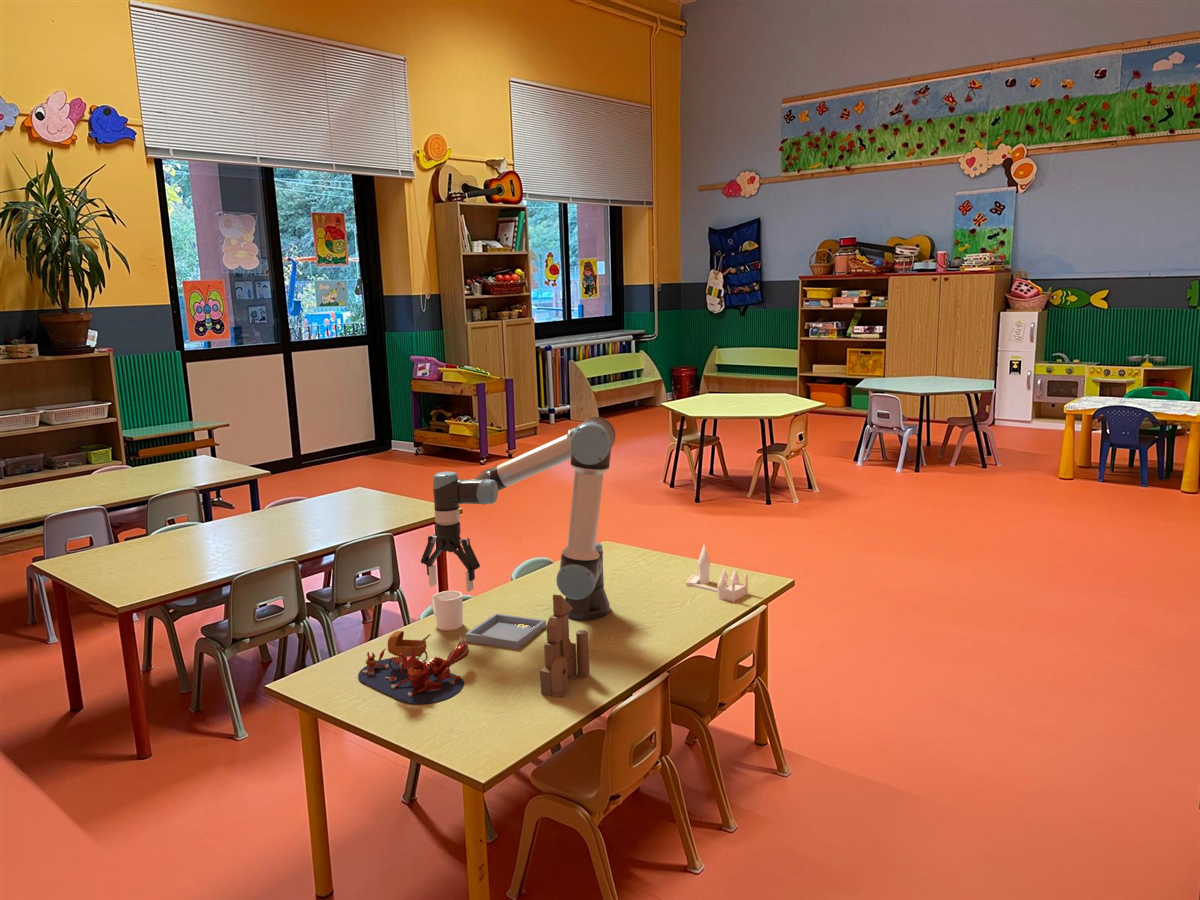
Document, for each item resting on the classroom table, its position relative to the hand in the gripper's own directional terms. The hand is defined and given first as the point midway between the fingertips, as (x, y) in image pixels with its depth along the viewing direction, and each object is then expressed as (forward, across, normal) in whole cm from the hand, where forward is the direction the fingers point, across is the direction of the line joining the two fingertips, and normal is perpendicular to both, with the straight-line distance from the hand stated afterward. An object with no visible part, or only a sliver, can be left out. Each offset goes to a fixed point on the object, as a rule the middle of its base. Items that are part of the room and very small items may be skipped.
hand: (451, 587), depth 277 cm
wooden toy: (+13, -52, +24) cm, 58 cm away
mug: (+13, +2, 0) cm, 13 cm away
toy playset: (+14, -10, +33) cm, 37 cm away
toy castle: (+13, -68, -55) cm, 89 cm away
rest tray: (+13, -19, 0) cm, 23 cm away
